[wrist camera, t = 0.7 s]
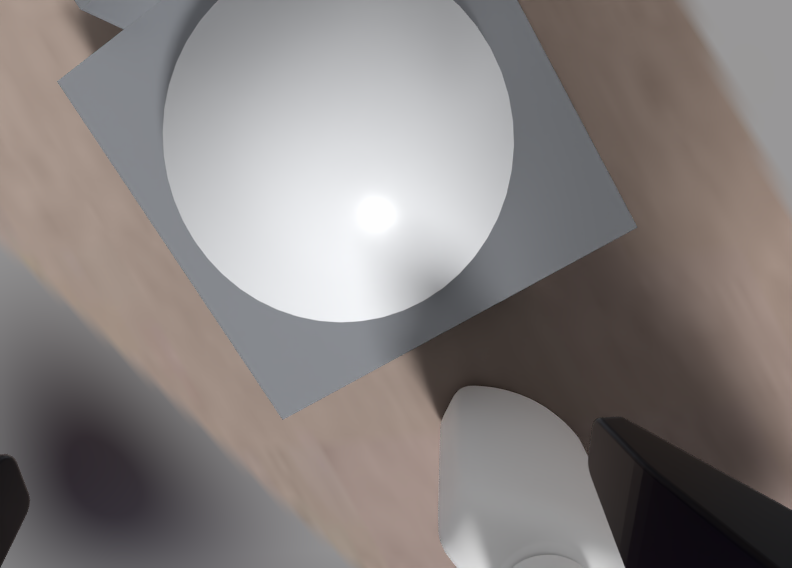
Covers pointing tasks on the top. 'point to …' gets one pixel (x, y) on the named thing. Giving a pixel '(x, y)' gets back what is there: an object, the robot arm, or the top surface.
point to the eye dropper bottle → (517, 487)
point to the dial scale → (345, 168)
